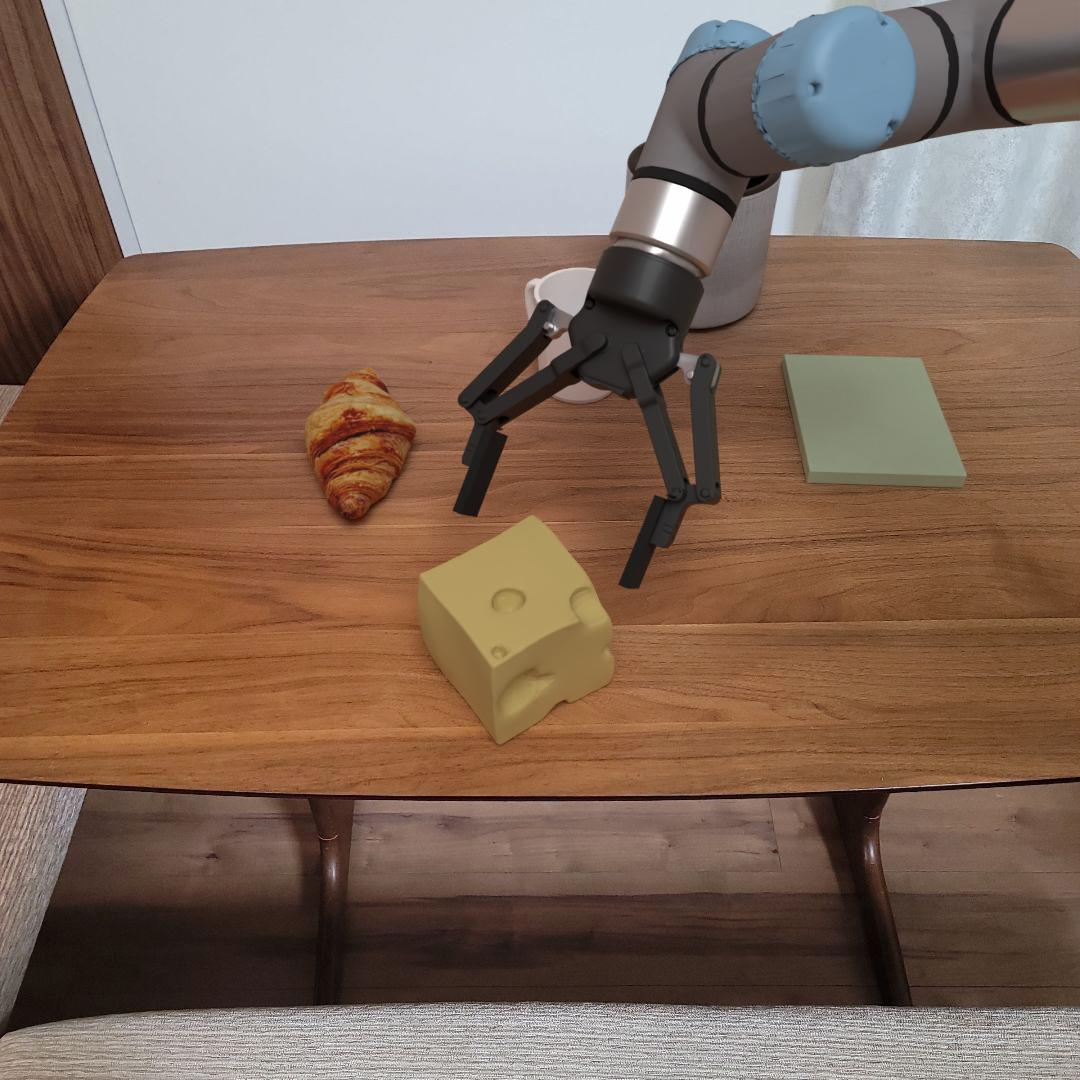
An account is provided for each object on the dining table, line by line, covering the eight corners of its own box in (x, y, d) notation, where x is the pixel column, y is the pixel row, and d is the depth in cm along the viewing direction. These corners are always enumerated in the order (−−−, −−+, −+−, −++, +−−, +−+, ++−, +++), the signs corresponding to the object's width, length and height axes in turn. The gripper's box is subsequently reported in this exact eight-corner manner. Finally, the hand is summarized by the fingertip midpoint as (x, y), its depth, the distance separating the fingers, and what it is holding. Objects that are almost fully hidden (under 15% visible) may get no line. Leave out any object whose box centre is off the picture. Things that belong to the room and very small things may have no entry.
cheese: (614, 684, 69) (622, 598, 62) (493, 756, 65) (486, 673, 58) (536, 596, 75) (535, 508, 68) (420, 657, 71) (406, 570, 64)
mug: (638, 374, 96) (646, 286, 88) (590, 419, 91) (593, 329, 83) (551, 338, 100) (552, 251, 93) (501, 379, 95) (497, 291, 88)
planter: (634, 342, 100) (645, 204, 88) (604, 265, 111) (611, 134, 99) (777, 328, 101) (806, 192, 90) (734, 254, 112) (755, 124, 101)
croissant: (345, 414, 97) (296, 359, 92) (426, 372, 94) (380, 313, 89) (331, 561, 82) (271, 505, 77) (426, 516, 79) (371, 455, 74)
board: (962, 488, 84) (967, 475, 83) (806, 483, 84) (809, 471, 83) (916, 369, 96) (921, 357, 95) (781, 365, 97) (783, 353, 96)
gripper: (836, 331, 63) (715, 618, 65) (523, 236, 72) (427, 491, 74) (827, 299, 56) (692, 622, 58) (482, 198, 65) (376, 481, 67)
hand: (543, 549), depth 66 cm, fingers open, 13 cm apart
